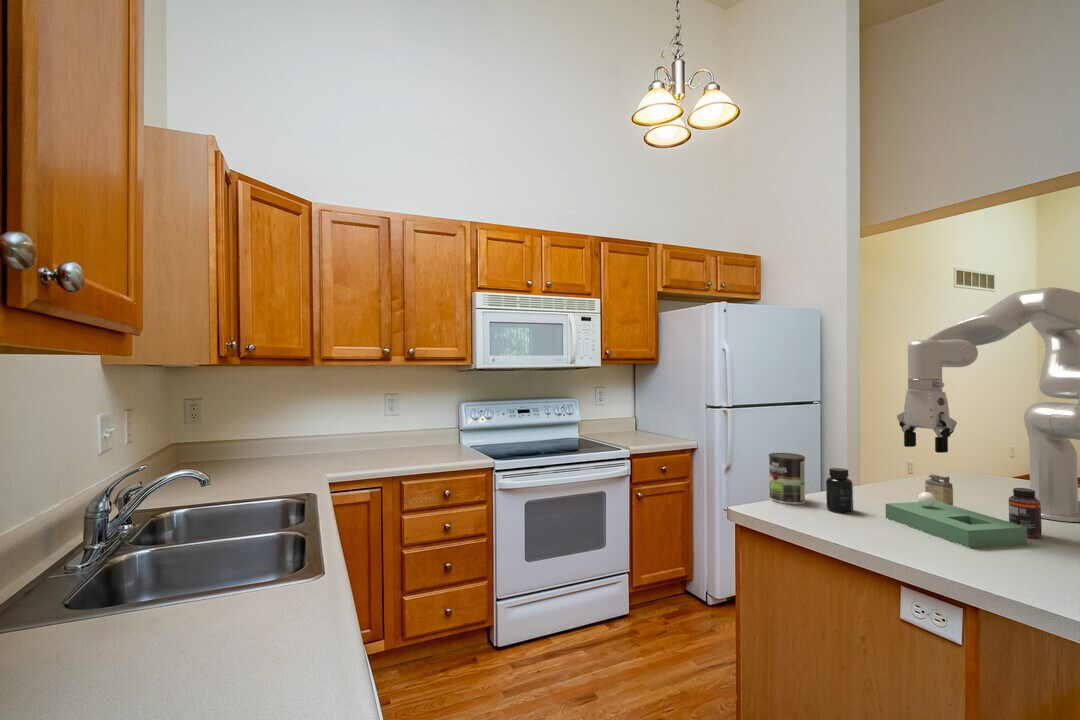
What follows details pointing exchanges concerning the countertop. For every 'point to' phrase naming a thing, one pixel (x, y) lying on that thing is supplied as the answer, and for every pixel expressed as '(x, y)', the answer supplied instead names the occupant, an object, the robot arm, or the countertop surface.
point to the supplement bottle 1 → (839, 491)
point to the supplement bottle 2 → (1026, 511)
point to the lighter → (940, 488)
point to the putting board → (958, 524)
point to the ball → (926, 499)
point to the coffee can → (787, 478)
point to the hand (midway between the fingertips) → (925, 449)
